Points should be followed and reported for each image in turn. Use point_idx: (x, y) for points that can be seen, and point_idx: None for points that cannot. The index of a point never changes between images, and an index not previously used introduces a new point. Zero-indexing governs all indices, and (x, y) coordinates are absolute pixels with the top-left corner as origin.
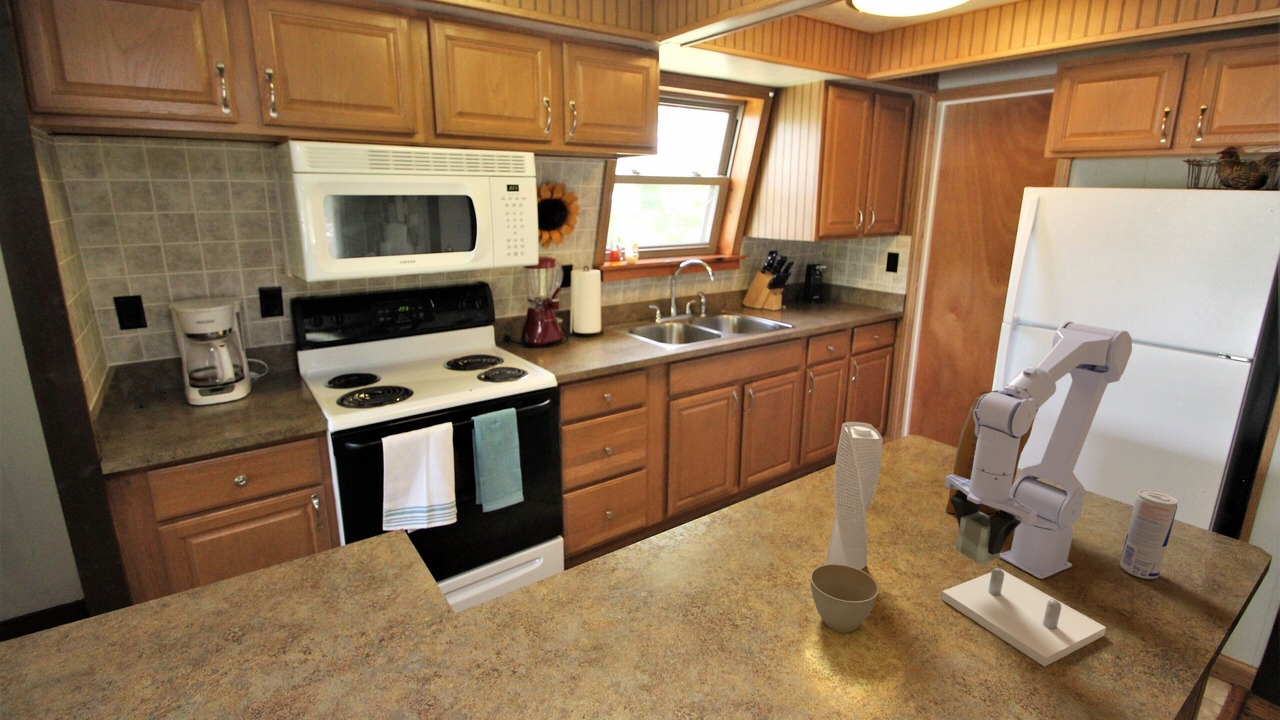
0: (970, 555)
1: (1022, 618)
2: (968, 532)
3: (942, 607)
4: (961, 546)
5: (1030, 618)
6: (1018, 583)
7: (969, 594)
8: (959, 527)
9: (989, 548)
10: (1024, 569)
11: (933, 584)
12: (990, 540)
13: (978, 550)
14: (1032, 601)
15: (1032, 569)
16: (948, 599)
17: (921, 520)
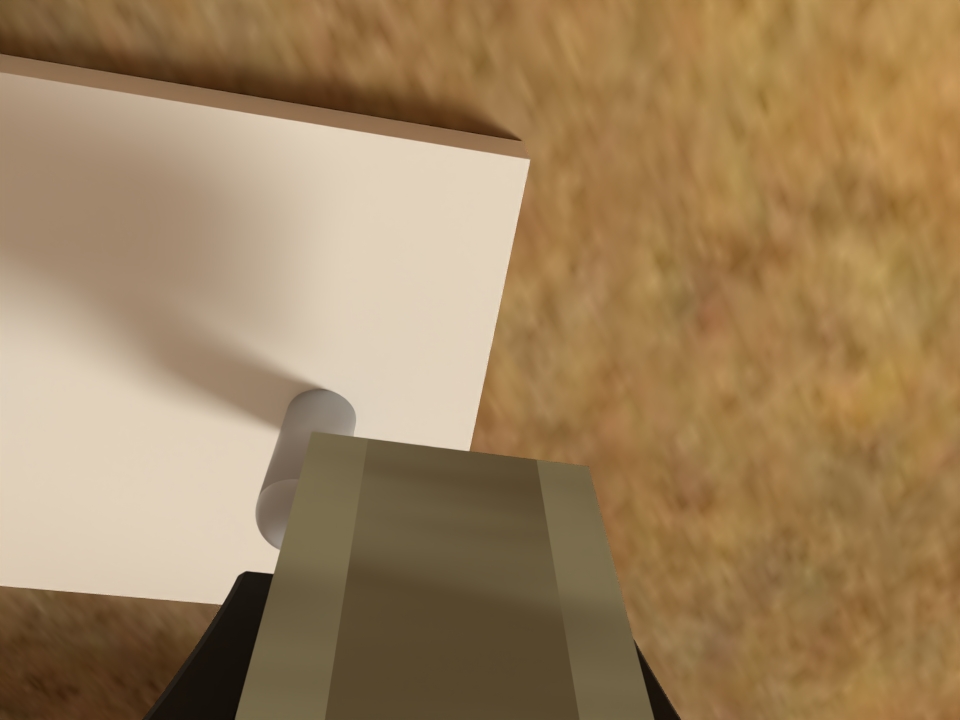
0: (429, 464)
1: (63, 311)
2: (507, 673)
3: (468, 54)
4: (544, 506)
5: (47, 351)
6: None
7: (394, 279)
8: (645, 687)
9: (258, 613)
10: None
11: (632, 255)
12: (221, 705)
13: (343, 527)
14: (161, 500)
15: None
16: (471, 142)
17: (908, 699)
